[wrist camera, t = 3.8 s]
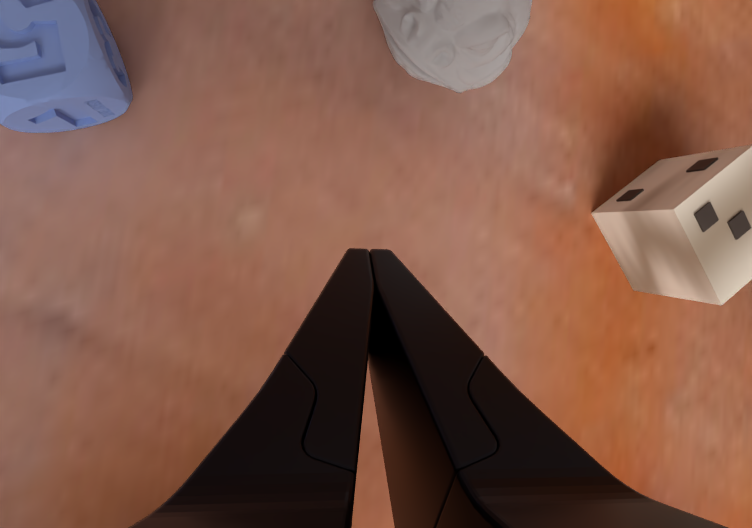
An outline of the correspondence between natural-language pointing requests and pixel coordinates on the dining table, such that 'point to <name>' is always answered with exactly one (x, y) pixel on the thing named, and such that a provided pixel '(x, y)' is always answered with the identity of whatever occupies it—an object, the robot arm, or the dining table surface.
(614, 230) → the birch pip block
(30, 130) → the decorative dice
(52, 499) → the dining table surface
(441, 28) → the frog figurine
